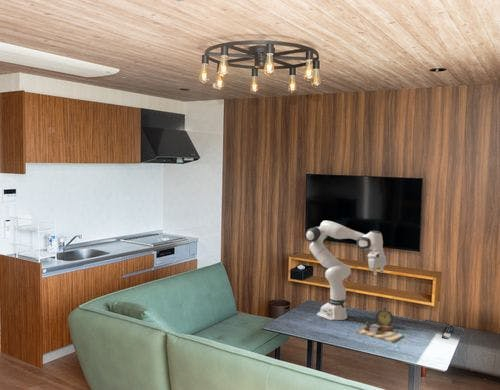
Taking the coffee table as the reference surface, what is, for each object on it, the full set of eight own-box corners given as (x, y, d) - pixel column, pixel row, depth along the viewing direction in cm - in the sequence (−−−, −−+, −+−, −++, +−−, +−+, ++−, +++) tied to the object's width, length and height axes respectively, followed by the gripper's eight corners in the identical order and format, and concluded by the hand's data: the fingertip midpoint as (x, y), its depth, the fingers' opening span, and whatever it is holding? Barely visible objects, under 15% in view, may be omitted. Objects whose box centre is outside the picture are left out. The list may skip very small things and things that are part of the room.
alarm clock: (375, 326, 335) (376, 303, 334) (377, 323, 340) (378, 301, 339) (391, 328, 330) (392, 305, 329) (393, 326, 335) (393, 303, 334)
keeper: (369, 332, 319) (369, 326, 319) (373, 330, 324) (373, 323, 324) (376, 334, 316) (376, 327, 315) (380, 331, 321) (380, 325, 320)
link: (364, 330, 322) (364, 323, 322) (363, 328, 327) (363, 320, 326) (393, 331, 320) (393, 324, 320) (392, 329, 325) (392, 322, 324)
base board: (356, 333, 321) (356, 331, 321) (367, 327, 333) (367, 325, 333) (393, 342, 304) (393, 340, 304) (403, 336, 316) (403, 334, 315)
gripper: (379, 252, 342) (381, 271, 342) (366, 255, 327) (367, 275, 327) (388, 252, 338) (389, 271, 338) (374, 255, 323) (376, 276, 322)
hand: (378, 273), depth 332 cm, fingers open, 8 cm apart
